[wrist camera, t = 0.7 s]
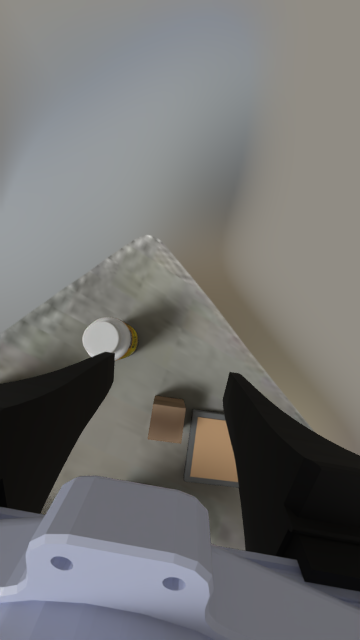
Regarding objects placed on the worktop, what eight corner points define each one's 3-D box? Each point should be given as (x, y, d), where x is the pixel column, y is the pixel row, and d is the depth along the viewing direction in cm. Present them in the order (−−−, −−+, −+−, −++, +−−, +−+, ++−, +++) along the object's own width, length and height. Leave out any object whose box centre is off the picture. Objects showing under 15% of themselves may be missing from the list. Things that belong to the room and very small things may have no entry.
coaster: (247, 484, 30) (249, 489, 29) (183, 477, 29) (184, 481, 28) (253, 417, 31) (256, 419, 30) (192, 409, 31) (193, 411, 30)
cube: (178, 428, 30) (181, 443, 26) (150, 425, 30) (147, 439, 26) (183, 399, 31) (185, 408, 26) (155, 395, 31) (153, 404, 26)
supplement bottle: (143, 350, 31) (133, 353, 21) (110, 363, 31) (83, 372, 20) (132, 318, 32) (117, 306, 22) (99, 330, 31) (67, 323, 21)
